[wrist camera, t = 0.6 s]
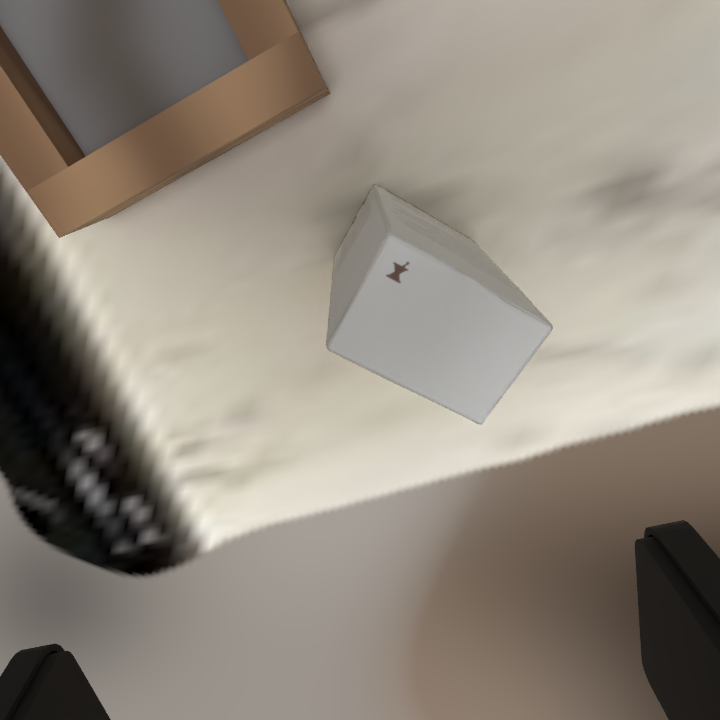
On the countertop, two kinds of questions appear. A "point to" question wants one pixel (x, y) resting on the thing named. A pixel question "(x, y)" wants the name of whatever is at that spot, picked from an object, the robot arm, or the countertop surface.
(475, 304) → the skincare box
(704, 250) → the countertop surface
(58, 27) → the brown wooden square frame
